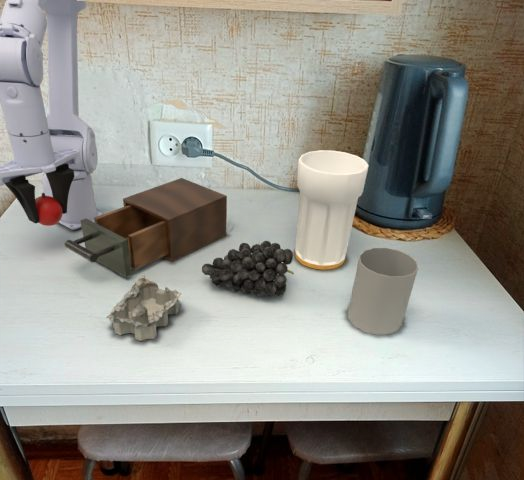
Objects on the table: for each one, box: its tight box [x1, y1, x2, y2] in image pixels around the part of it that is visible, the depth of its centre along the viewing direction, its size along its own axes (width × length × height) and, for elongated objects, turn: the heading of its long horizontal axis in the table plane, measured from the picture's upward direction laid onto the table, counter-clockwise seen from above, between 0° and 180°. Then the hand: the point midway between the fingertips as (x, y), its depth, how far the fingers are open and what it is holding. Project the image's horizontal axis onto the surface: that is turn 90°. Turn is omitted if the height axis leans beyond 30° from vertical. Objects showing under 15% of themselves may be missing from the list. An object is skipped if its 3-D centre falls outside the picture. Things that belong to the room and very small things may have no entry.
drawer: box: [64, 205, 169, 278], centre depth 86 cm, size 18×10×6 cm, turn 141°
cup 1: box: [294, 149, 370, 271], centre depth 87 cm, size 11×11×17 cm
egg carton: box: [105, 275, 182, 342], centre depth 74 cm, size 11×8×4 cm
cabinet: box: [122, 177, 228, 263], centre depth 93 cm, size 14×12×8 cm
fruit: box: [201, 240, 295, 298], centre depth 81 cm, size 9×8×15 cm
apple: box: [35, 192, 63, 227], centre depth 83 cm, size 5×5×6 cm
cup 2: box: [347, 247, 419, 336], centre depth 76 cm, size 8×8×10 cm
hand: (48, 216), depth 84 cm, fingers closed on apple, 4 cm apart
